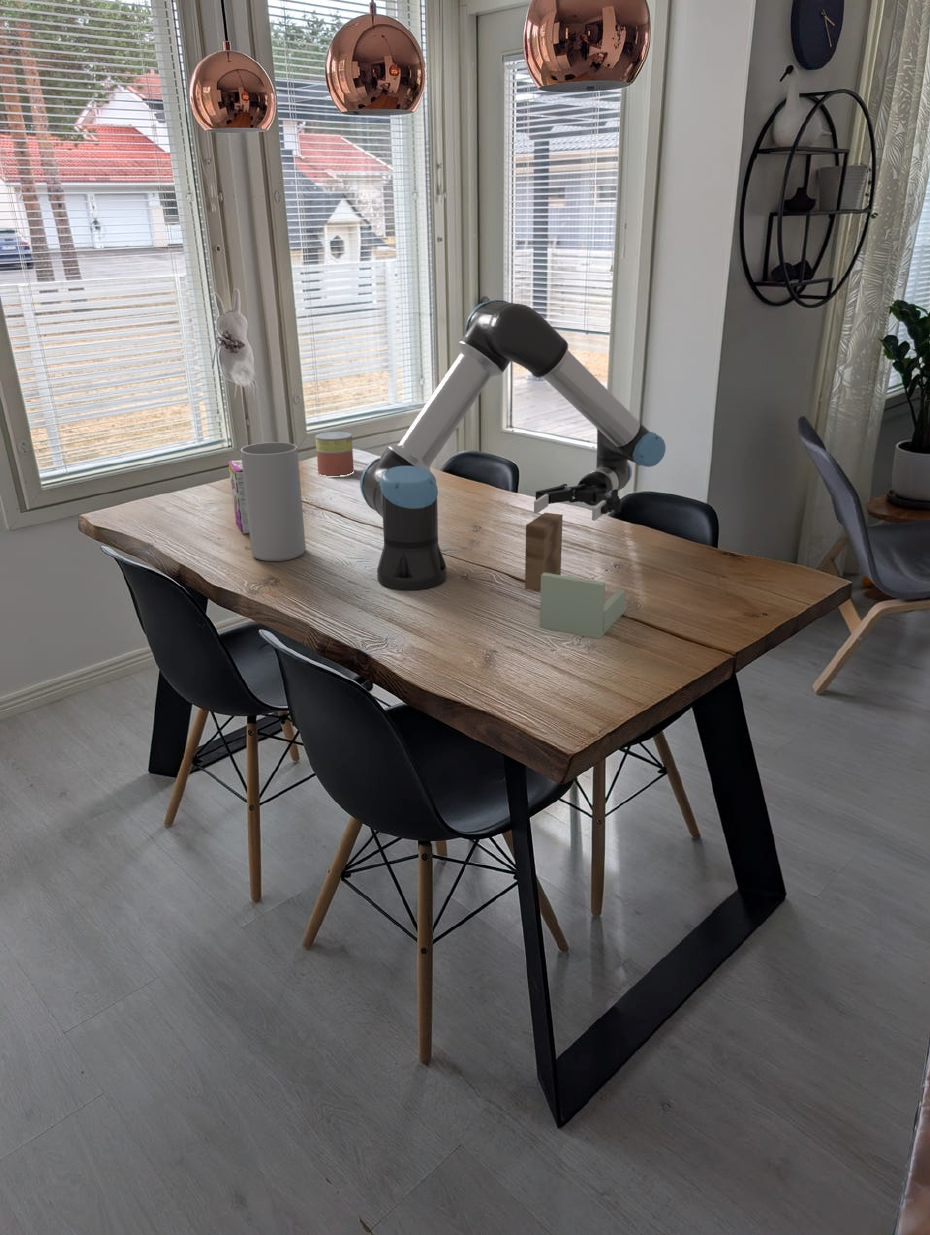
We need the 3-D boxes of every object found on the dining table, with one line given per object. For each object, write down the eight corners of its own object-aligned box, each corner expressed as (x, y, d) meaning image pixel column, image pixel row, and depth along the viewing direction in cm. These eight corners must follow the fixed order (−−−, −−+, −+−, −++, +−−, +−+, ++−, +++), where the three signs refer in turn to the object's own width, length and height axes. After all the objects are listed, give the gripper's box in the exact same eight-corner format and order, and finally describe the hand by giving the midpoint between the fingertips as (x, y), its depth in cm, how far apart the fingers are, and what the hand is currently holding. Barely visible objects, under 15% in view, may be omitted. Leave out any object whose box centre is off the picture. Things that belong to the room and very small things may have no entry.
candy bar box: (234, 522, 237) (227, 460, 230) (253, 520, 238) (247, 459, 232) (241, 534, 227) (234, 470, 221) (261, 532, 229) (254, 468, 222)
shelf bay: (599, 638, 167) (602, 585, 163) (539, 627, 172) (540, 575, 168) (627, 609, 180) (630, 558, 176) (570, 599, 185) (572, 549, 181)
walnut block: (542, 591, 189) (544, 527, 184) (524, 588, 191) (526, 525, 185) (560, 576, 197) (562, 514, 192) (543, 573, 199) (545, 512, 194)
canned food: (360, 474, 282) (357, 436, 277) (326, 479, 277) (323, 440, 272) (345, 467, 291) (343, 430, 286) (312, 472, 286) (309, 434, 281)
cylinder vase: (241, 553, 214) (229, 448, 204) (286, 541, 222) (276, 439, 212) (271, 566, 205) (260, 457, 196) (316, 553, 213) (308, 448, 204)
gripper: (648, 507, 210) (618, 534, 193) (548, 496, 221) (512, 520, 204) (650, 476, 207) (619, 500, 190) (549, 466, 218) (511, 488, 201)
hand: (564, 511), depth 197 cm, fingers open, 13 cm apart
